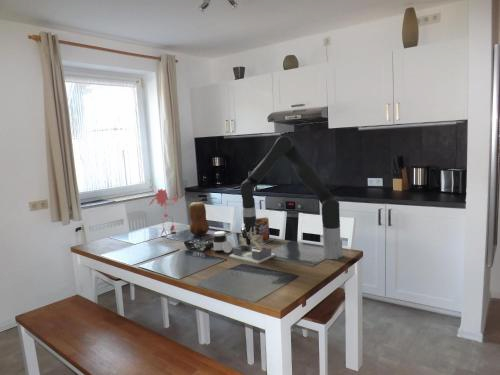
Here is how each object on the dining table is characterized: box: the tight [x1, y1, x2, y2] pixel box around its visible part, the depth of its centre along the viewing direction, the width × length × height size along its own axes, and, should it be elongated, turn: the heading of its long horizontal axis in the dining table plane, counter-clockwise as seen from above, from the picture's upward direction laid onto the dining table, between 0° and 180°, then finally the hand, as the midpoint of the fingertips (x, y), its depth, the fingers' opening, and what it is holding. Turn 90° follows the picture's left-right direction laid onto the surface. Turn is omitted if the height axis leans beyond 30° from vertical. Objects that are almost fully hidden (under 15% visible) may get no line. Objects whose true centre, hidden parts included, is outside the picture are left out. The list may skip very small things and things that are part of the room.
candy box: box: [255, 216, 270, 242], centre depth 236 cm, size 9×4×15 cm, turn 98°
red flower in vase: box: [148, 188, 179, 236], centre depth 270 cm, size 15×26×35 cm, turn 147°
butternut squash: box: [188, 201, 210, 237], centre depth 259 cm, size 14×13×25 cm
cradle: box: [228, 244, 276, 265], centre depth 207 cm, size 22×16×5 cm
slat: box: [238, 233, 264, 248], centre depth 206 cm, size 14×4×6 cm, turn 54°
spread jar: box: [212, 230, 233, 254], centre depth 219 cm, size 12×11×12 cm
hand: (251, 243), depth 206 cm, fingers closed on slat, 4 cm apart
